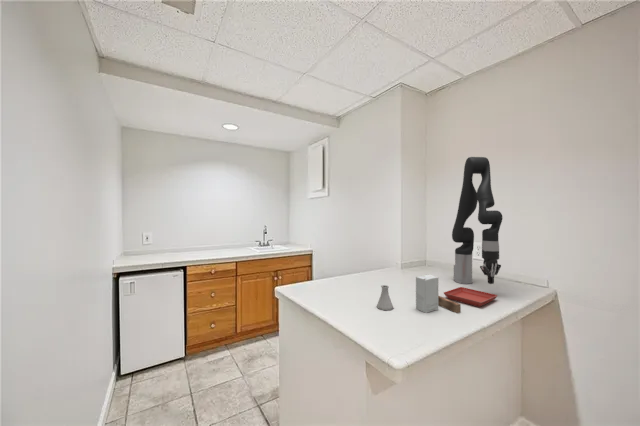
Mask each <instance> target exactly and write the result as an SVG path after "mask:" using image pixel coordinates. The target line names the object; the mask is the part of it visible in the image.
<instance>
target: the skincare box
mask: <svg viewBox="0 0 640 426" xmlns="http://www.w3.org/2000/svg"><path fill="white" fill-rule="evenodd" d="M438 296H439V277H438V276H435V275H432V274H425V275H419V276H415V309H416V310H418V311H421V312H423V313H425V314H426V313H427V314H428V313H430V312H433V311H434V312H435V311H438V310H439V305H438Z"/></svg>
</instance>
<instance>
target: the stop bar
mask: <svg viewBox="0 0 640 426" xmlns="http://www.w3.org/2000/svg"><path fill="white" fill-rule="evenodd" d="M438 307H441V308H443V309H446V310H448V311H451V312H453V313H456V314H457V313H461V312H462V311H461V309H462V307H461V303H460V302H459V303H458V302H457V301H455V300H451V299H449V298H447V297H444V296H440V295H438Z"/></svg>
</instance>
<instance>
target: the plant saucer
mask: <svg viewBox="0 0 640 426" xmlns="http://www.w3.org/2000/svg"><path fill="white" fill-rule="evenodd" d="M443 295H445V298H446V299H448V300H451V301H454V302H457V303H458V302H459V303H463V304H466V305H470V306H474V307H478V308H479V307H482V306H484V305H486V304H488V303H491V302H493V301H494V300H495V299H497V298H498V294H493V293H491V292H486V291H481V290H476V289H472V288H469V287H464V286H460V287H456V288H453V289H450V290H447V291H445V292H444V291H443Z"/></svg>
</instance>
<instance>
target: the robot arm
mask: <svg viewBox="0 0 640 426" xmlns="http://www.w3.org/2000/svg"><path fill="white" fill-rule="evenodd" d="M476 174H477V175H478V174H479V175H480V176H481V182H480V184H479V186H478V188H477V190H476V188H475V185H474V183H473V177H474V175H476ZM462 177H463V178H462V187H461V192H460V197H459V201H458V207H457V213H456V218H455V220H454V225H453V228H452V232H451V238H452V241H453V242H454V243H457V244H460V243H462V244H461V245H460V246H458V247H456V248H455V250H454V264H453V281H455V282H456V283H459V284H466V285H471V284H473V251H474V245H475V244H474V243H475V233H474V230H473V229H472V227H468V226H467V227H466V226H465V224H466V222H467V221H468V219H469V218H470V217H471V215H473V213H474V212H475V210H476V209H477V206H478V215H477V221H478V222H479V223H480V224H481V225H491V226H490V227H489V228H485V229H483V230H482V231H481V236H482V237H481V239H482V241H481V258H482V259H483V264H482V265H480V266H479V268H480V270H481V272H482V273H483V275H484V276H486V277H487V283H488V284H489V285H494V283H495V276H497V275H498V273H499V271H500V269H501V267H502V264H499V263H498V260H500V242H499V232H500V228H501V225H502V222H503V214H502V212H501V211H499V210H488V209H491V208H492V207H494V206H495V199H494V195H493V191H492V182H491V181H492V180H491V178H492V177H491V166H490V161H489V159H488V158H487V157H485V156H470V157H469V156H468V158H466V160H465V163H464V167H463V176H462Z"/></svg>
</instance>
